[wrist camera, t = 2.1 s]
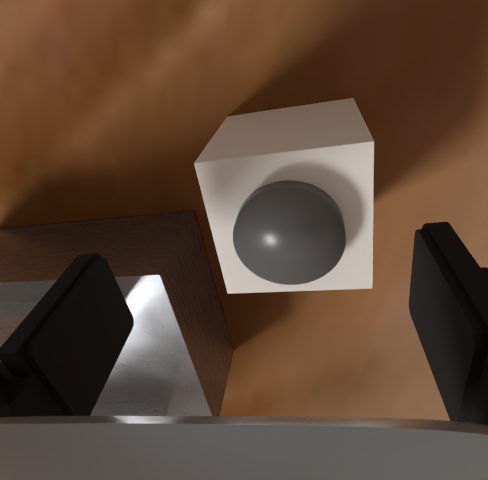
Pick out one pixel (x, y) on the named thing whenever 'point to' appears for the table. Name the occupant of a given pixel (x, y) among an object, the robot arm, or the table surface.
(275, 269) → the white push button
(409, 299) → the robot arm
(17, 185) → the table surface
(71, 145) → the table surface
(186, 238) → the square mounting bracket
